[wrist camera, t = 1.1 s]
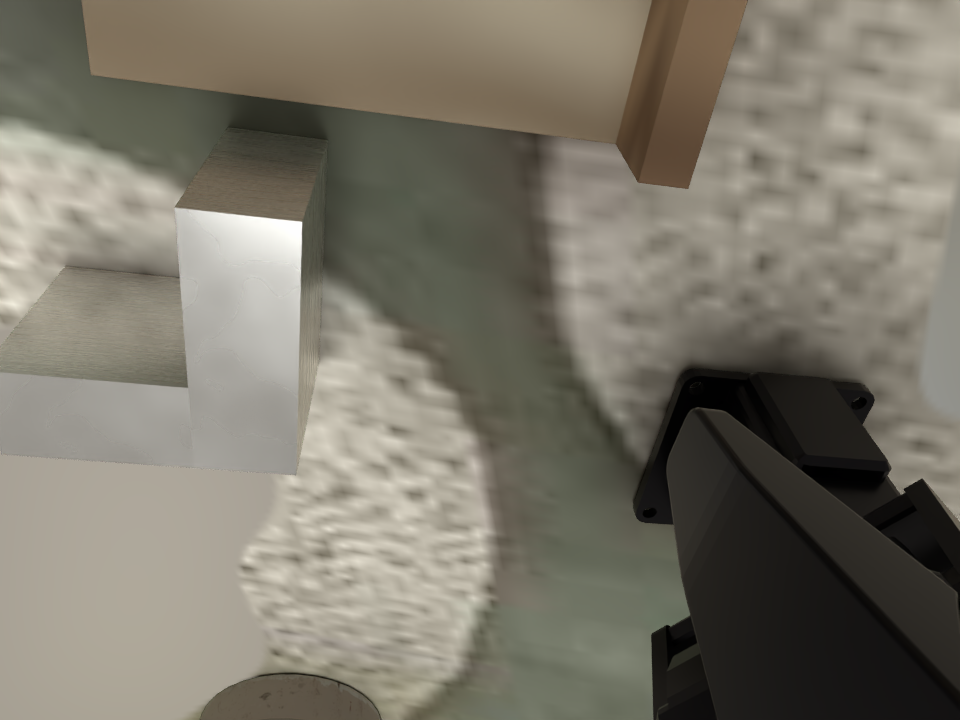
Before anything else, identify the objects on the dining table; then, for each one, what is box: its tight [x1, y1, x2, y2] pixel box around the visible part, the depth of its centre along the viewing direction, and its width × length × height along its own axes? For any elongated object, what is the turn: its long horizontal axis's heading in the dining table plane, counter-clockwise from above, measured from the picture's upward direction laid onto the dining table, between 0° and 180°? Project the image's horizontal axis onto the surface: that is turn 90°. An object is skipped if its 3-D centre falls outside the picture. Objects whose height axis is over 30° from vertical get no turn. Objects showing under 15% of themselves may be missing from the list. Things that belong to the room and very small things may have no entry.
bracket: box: [0, 127, 328, 475], centre depth 19 cm, size 7×7×5 cm
